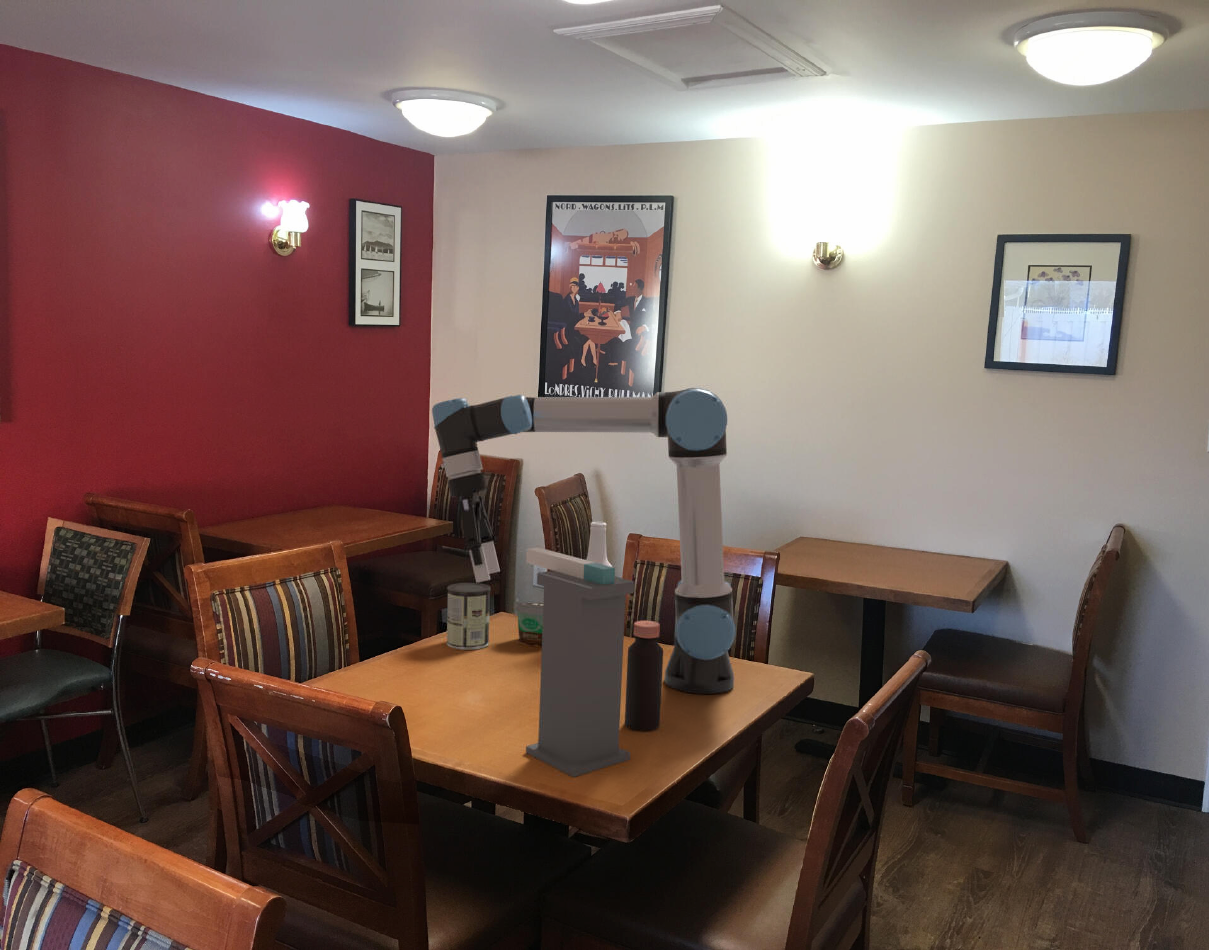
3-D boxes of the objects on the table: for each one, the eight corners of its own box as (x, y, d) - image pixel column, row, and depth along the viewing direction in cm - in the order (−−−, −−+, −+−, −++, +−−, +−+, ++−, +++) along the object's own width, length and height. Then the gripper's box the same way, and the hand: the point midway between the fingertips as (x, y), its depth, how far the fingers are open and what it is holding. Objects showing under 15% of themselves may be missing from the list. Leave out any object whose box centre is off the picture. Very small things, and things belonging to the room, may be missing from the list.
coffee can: (464, 636, 250) (466, 580, 248) (497, 643, 244) (499, 586, 243) (436, 644, 241) (438, 587, 239) (470, 652, 236) (471, 594, 234)
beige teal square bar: (526, 562, 183) (526, 548, 183) (537, 561, 185) (537, 547, 185) (602, 584, 168) (603, 569, 167) (614, 582, 169) (615, 567, 169)
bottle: (633, 733, 188) (638, 629, 186) (618, 721, 195) (623, 620, 192) (665, 729, 191) (671, 627, 189) (650, 717, 197) (655, 618, 195)
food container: (507, 644, 244) (508, 604, 243) (514, 638, 250) (515, 598, 249) (557, 649, 242) (558, 608, 241) (562, 642, 248) (564, 602, 247)
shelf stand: (524, 751, 177) (530, 573, 174) (580, 735, 186) (587, 566, 182) (575, 778, 167) (583, 589, 164) (632, 760, 176) (640, 580, 172)
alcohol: (571, 638, 252) (576, 519, 249) (605, 636, 254) (610, 519, 251) (580, 647, 244) (585, 525, 240) (615, 646, 246) (620, 525, 243)
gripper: (458, 477, 217) (480, 573, 217) (434, 481, 192) (459, 589, 192) (492, 470, 217) (514, 565, 217) (472, 472, 192) (497, 580, 192)
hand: (488, 576), depth 205 cm, fingers open, 13 cm apart
